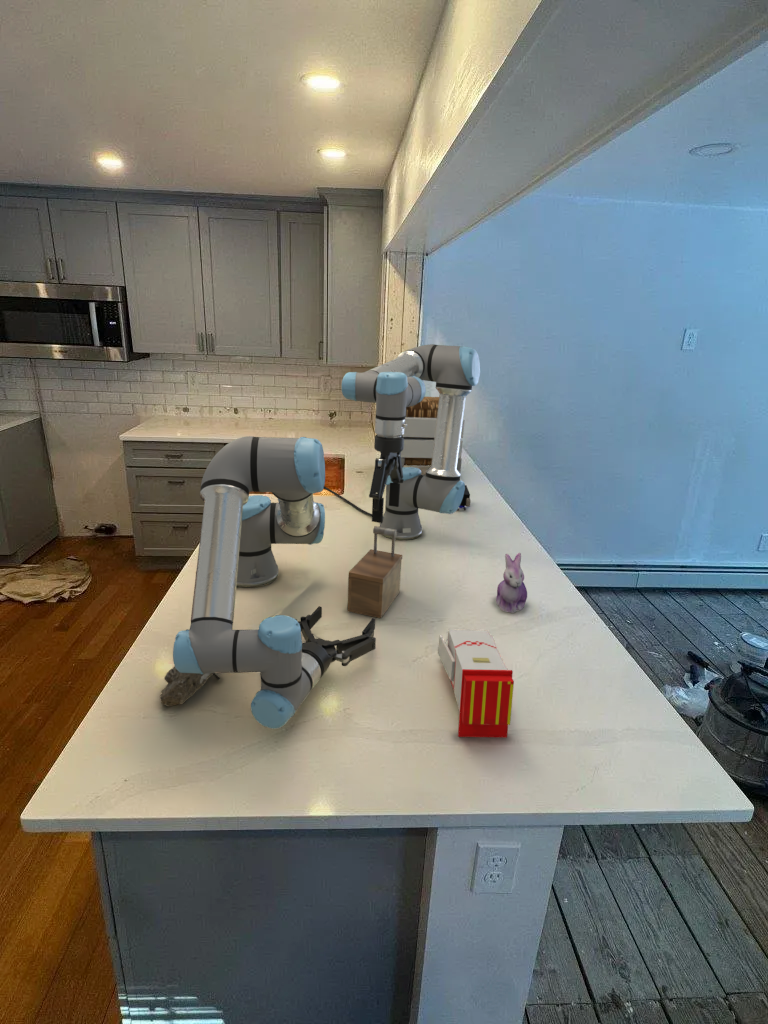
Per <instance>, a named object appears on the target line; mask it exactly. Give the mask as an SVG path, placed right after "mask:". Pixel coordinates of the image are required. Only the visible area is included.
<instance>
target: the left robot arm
mask: <svg viewBox="0 0 768 1024" xmlns="http://www.w3.org/2000/svg"><path fill="white" fill-rule="evenodd" d="M325 484H326V462H325V452H324V446H323V444H322V442H321V440H319V439H318V438H314V437H312V438H311V437H307V436H299V437H282V436H281V437H280V436H279V437H275V436H274V437H273V436H251V435H249V436H242V437H239V438H235V439H234V440H231V441H229V442H228V443H227V444H225V445H224V446H223V447H222V448H221V449H220V450H218V451H217V452H216V454H215V455H214V456H213V457H212V459H211V461H210V462H209V464H208V465H207V466H206V469H205V471H204V473H203V476H202V479H201V484H200V490H199V497H200V499H201V500H202V501H203V511H202V519H201V527H200V537H199V546H198V555H197V560H196V562H197V563H196V571H195V580H194V588H193V596H192V603H191V605H192V606H191V614H190V626H189V629H185V630H179V631H178V632H177V633H176V635H175V638H174V642H173V647H172V661H173V665H174V666H175V668H176V669H177V670H178V671H179V672H181V673H200V674H205V673H215V674H226V673H229V674H230V673H231V674H232V673H233V674H234V673H238V674H239V673H260V675H259V676H260V689H259V690H258V691H257V692H256V693H255V695H254V697H253V699H252V700H251V703H250V711H251V714H252V716H253V718H254V719H255V721H256V722H257V723H258V724H260V725H261V726H263V727H264V728H268V729H271V730H272V729H273V730H278V729H280V728H282V727H284V726H285V725H286V724H287V723H288V722H289V720H290V719H291V718H293V717H294V715H295V714H296V713H297V711H298V709H299V708H300V707H301V705H302V704H303V703H304V701H305V700H306V698H307V697H308V696H309V694H310V693H311V692H312V690H313V689H314V687H315V686H316V685H317V683H318V682H319V681H320V679H322V678H323V676H324V675H325V673H326V672H327V670H328V669H329V668H330V665H331V664H332V663H334V662H336V661H337V662H340V663H341V666H342V667H347V666H348V665H349V664H350V663H351V662H352V661H354V660H357V659H359V658H361V657H363V656H365V655H366V654H368V653H371V652H373V651H374V650H375V649H376V643H377V638H376V637H375V630H376V618H375V617H373V618H372V617H371V619H370V620H369V622H368V623H367V624H366V626H365V627H364V629H363V630H362V632H361V634H360V635H357V636H354V637H350V638H346V639H343V640H339V639H335V640H327V639H324V638H320V637H318V638H316V637H315V635H314V633H312V631H311V629H313V627H314V626H315V625H316V624H317V623H318V622H319V621H320V619H321V618H322V617H323V615H322V614H323V606H317V608H316V609H315V610H313V612H312V613H310V614H307V615H306V616H300V618H299V619H300V620H298V619H296V618H294V617H292V616H289V615H284V614H276V615H274V616H268V617H266V618H265V619H263V620H262V621H261V622H260V623H259V626H258V629H234V628H233V627H234V621H235V610H236V609H235V608H236V596H237V587H239V588H257V587H263V586H266V585H270V584H271V583H273V582H274V581H276V580H277V579H278V577H279V566H278V564H277V562H276V558H275V555H274V553H273V550H272V545H309V546H310V545H316V544H317V545H318V544H320V543H321V542H322V541H323V539H324V534H325V528H326V527H325V526H326V511H325V506H324V504H323V503H321V502H316V501H314V494H318V493H321V492H323V490H324V486H326V485H325ZM252 492H254V493H271V494H272V495H273V496H274V497H275V498H276V499H277V501H278V502H272V500H271V499H270V497H269V496H267V495H260V494H257V495H255V494H253V495H250V493H252ZM302 637H303V639H304V641H302ZM174 666H173V667H174Z"/></svg>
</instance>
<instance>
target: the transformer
mask: <svg viewBox="0 0 768 1024" xmlns="http://www.w3.org/2000/svg"><path fill="white" fill-rule="evenodd" d="M438 403H439V396H424V398H423V400H422V401H421V402H419V403H418V404H416V405H413V406H409V407H406V414H405V423H406V424H407V427H405V429H404V434H403V435H402V436H403V437H404V449H403V451H401V462H402V468H403V467H405V466H406V467H417V466H418V467H431V463H432V455H433V446H434V438H435V429H436V420H437V412H438ZM464 429H465V419H464V418H463V424H462V432H461V440H460V448H459V455H458V463H457V470H458V472H459V473H460V474H461V472H462V461H463V460H462V453H463V442H464V441H463V440H462V439H463V438H464V431H465V430H464ZM461 475H462V474H461Z"/></svg>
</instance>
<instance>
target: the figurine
mask: <svg viewBox="0 0 768 1024" xmlns="http://www.w3.org/2000/svg"><path fill="white" fill-rule="evenodd" d="M511 557H512V556H511V555H509V553H505V555H504V559H505V560H504V561H505V569H504V571H503V580H502V581H500V582H499V583H498V585H497V589H496V597H495V603H496V606H497V607H499V609H500V610H501V611H502V612H505V613H512V614H513V613H517V612H519V611H522V610H523V609H524V608H525V605H526V602H527V599H528V590H527V586H526V584H525V582H524V580H525V574H524V571H523V569H522V567H521V562H522V561H521V560H522V553H521V552H518V553H516V554H515V557H514V559H512V558H511Z"/></svg>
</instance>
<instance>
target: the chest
mask: <svg viewBox="0 0 768 1024" xmlns="http://www.w3.org/2000/svg"><path fill="white" fill-rule="evenodd" d="M401 572H402V560H401V561H400V562H399V563H398V565H397V566H396V567H395V568H394V570H393V571H392V572H391V573H390V575H389V576H388V577H387V579H386V580H385V581H384V582H383V583H379V582H374V581H369V580H364V579H359V578H354V577H349V576H348V579H347V585H348V586H347V612H349V613H355V614H359V615H364V616H368V617H371V618H372V617H373V618H378V619H382V618H383V616H384V615H385V613H387V611H388V610H389V608H390V607H391V605H392V604H393V602H394V601H395V600H396V598H397V597H398V595H399V594H400V591H401V590H400V589H401V576H402V575H401V574H402V573H401Z"/></svg>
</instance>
